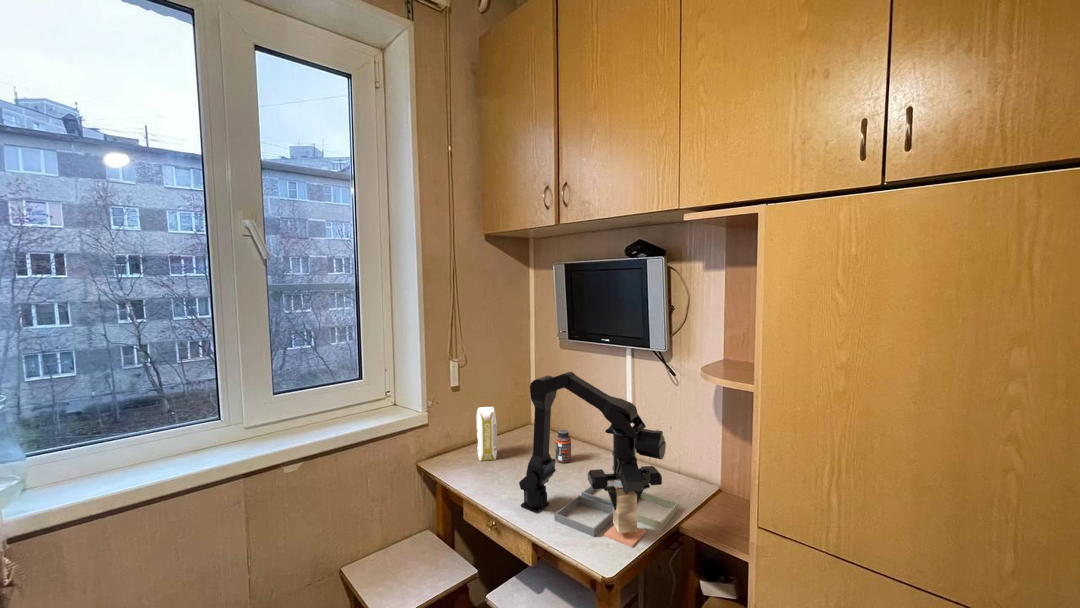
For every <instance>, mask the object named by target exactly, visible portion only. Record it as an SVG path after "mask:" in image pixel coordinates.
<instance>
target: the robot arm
mask: <svg viewBox="0 0 1080 608" xmlns="http://www.w3.org/2000/svg"><path fill="white" fill-rule="evenodd" d="M561 389H566V390H567V391H569V392H570V393H573V394H574V395H575V396H577V397H578V398H580V399H581V400H583V401H584V402H586V403H588V404H589V405H591V406H593V407H595V408H596V409H598V411H600V412H601V413H602V415H603V417H604V418H605V419H606V420H607V421H608V422H609V423H610V426H609V427H608V428H606V429H605V431H604V432H605V433H606V434H611V435H612V439H613V440H612V443H613V444H612V448H613V449H612V451H611V453H612V456H613V458H612V459H613V461H612V462H613V465H612V471H613V473H605V471H604V470H603V469H602V468H601V469H590V470H589V471H588V473H587V481H588V483H589V486H591V487H592V489H595V490H604V492H607V493H608V496H609V499H610V501H611V502H612V505H613V508H614V510H616V496H615V491H616V488H615V487H614V485H613V482H614V481H618V482H621V483H622V486H623V489H624V491H626V492H631V491H635V492H636V494H637V505H638V504H639V500H640V499H641V498H640V496H641V494H642V492H644V491H645V490H646V489H649V488H650V487H651V486H660V485H662V484H663V477H662V474H661V473H660V472H659V470H658V469H657V468H656V467H655V466H654V465H646V466H641V467H639V466H638V458H637V456H636V454H638V455H639V456H643V457H646V458H647V457H648V458H652V459H657V460H663V459H664V457H665V454H666V448H667V447H666V443H667V442H666V439H665V436H663V430H657V429H656V430H652V429H648V428H646V427H647V426H646V424H645V422H644V421H643V419H642V418H641V416H640V415H639V414H638V408H637V406H636V405H635V403H633V402H630V401H628V400H626V399H623V398H620V397H615V396H611V395H609V394H607V393H606V392H604V391H602V390H601V389H599V388H598V387H596V386H594V385H593V384H590V383H589V382H588V381H586V380H584V379H583V378H581V377H580V376H577V375H576V374H575V373H574V372H572V371H567V372H564V373H562V374H559V375H555V376H551V375H544V376H541V377H539V378H537V379H533V380H532V381H531V383H530V384H529V393H530V400H531V402H532V404H533V407H534V421H533V422H534V423H533V443H532V444H533V445H532V455H531V457H530V458H529V461H528V463H527V469H526V473H525V477H523V478H522V479H520V481H519V482H518V485H519V488H520V490H522V491H523V502H522V503H521V504H520V507H521V508H524V509H526V510H527V511H528V510H529V511H531V512H533V513H536V514H537V513H539V512H541V511H542V510H543V509H545V508H546V507H548V506H549V505H550V501H548V492H547V486H546V484H547V483H549V481H550V478H552V477H553V476H554V473H555V472H556V471H557V470H556V462H557V461H556V458H552V457H551V455H550V439H551V437H550V435H551V415H552V413H551V412H552V406H553V403H554V402H555V400H556V397H557V393H558V390H561ZM632 424H633V425H632Z"/></svg>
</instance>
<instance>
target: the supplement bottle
mask: <svg viewBox="0 0 1080 608" xmlns="http://www.w3.org/2000/svg"><path fill="white" fill-rule="evenodd" d="M555 460H556V462H558V463H560V464H568V463H569V462H571V460H572V438H571V436H570V433H569V430H567V429H559V430H558V431H557V435H556V437H555Z"/></svg>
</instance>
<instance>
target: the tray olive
mask: <svg viewBox="0 0 1080 608" xmlns="http://www.w3.org/2000/svg"><path fill="white" fill-rule="evenodd" d="M640 499H642V500H644V501H647V502H651V503H654V504H658V505H661V506H663V507H667V508H670V510H669V511H668V512H667V513H666V514H665V515H664V516H663V518H662V519H661V520H658V519H654V518H651V517H649V516H646V515H642V514H640V513H637V521H638V522H637V523H640V522H641V524H643V523H644V525H646V526H648V525H649V527H651V526H652V527H651V528H654V529H657V530H659V529H660V531H662V530H663V529H664V528H665V526H667V524H668V523H669V521H670V520H671V519H672V518H673V517H674V516H675V514H677V512H678V511H679V506H680V505H679V504H680V503H679V502H677V501H674V500H670V499H667V498H663V497H661V496H658V495H654V494H651V493H648V492H645V491H643V492H642V494H641V496H640Z"/></svg>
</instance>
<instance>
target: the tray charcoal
mask: <svg viewBox="0 0 1080 608" xmlns="http://www.w3.org/2000/svg"><path fill="white" fill-rule="evenodd" d="M579 504H583V505H586V506H588V507H591V508H592V509H593V508H594V509H596V510H599V511H602V512H605V513H608V514H607V515H606V516H605V517H604V518H603V519H602V520H601V521H600V522H598V523H597V524H596V525H595V526H594V527H592V526H589V525H587V524H585V523H581V522H579V521H576V520H574V519H571V518H569V517H567V516H564V515H566V514H567V513H568V512H570V511H571V510H572V509H574V508H575V507H577V506H578V505H579ZM553 515H554V517H553V518H554V521H555V522H557V523H559V524H561V525H564V526H567V527H568V528H572V529H574V530H576V531H578V532H581V533H584V534H586V535H588V536H590V537H593V538H594V537H596V536H597V535H598V534H599V533H600V532H601V531H602V530H603V529H604V528H605V527H607V526H608V525H609V524H610V523H611V522H613V507H611V506H609V505H606V504H603V503H600V502H597V501H594V500H592V499H589V498H586V497H583V496H582V495H581V494H579V495H577V496H576V497H575V498H573V499H572V500H571V501H570V502H568V503H567V504H565V505H564V506H563V507H561V508H560V509H558V510H557V511H556V512H555V513H554V514H553Z"/></svg>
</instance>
